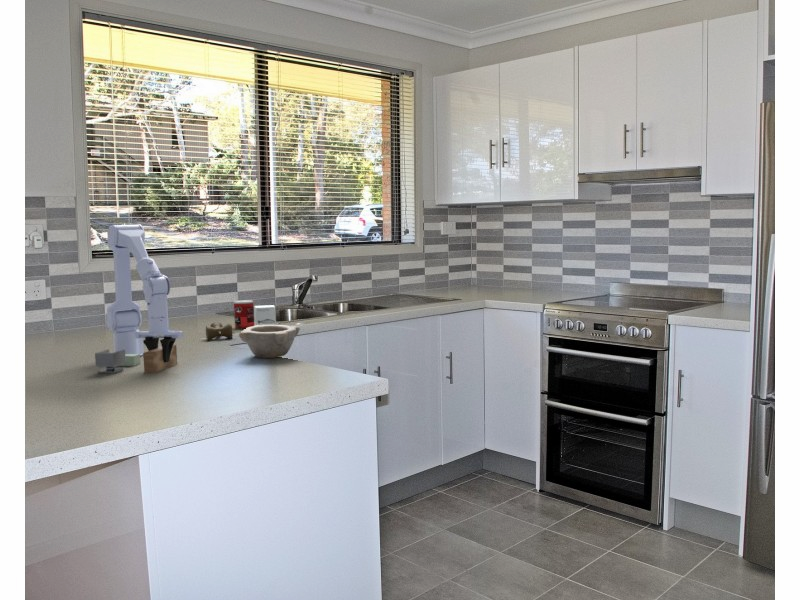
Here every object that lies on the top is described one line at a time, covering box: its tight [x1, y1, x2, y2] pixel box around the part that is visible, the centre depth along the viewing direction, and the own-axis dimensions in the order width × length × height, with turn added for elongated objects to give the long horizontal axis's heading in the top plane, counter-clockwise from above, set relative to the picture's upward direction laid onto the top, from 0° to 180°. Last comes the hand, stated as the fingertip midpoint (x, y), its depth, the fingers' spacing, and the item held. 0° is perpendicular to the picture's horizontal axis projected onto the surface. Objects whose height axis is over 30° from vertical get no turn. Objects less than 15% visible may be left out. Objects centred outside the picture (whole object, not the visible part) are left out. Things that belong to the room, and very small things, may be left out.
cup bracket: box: [94, 349, 126, 375], centre depth 211 cm, size 6×6×6 cm
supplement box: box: [254, 304, 277, 326], centre depth 261 cm, size 7×7×13 cm
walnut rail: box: [142, 344, 178, 374], centre depth 214 cm, size 14×3×6 cm, turn 169°
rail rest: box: [118, 354, 141, 367], centre depth 221 cm, size 4×5×3 cm
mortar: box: [238, 324, 301, 359], centre depth 230 cm, size 17×17×9 cm
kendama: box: [205, 321, 234, 341], centre depth 270 cm, size 6×10×20 cm
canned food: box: [233, 299, 255, 329], centre depth 295 cm, size 8×8×11 cm
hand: (160, 361), depth 214 cm, fingers closed on walnut rail, 3 cm apart
